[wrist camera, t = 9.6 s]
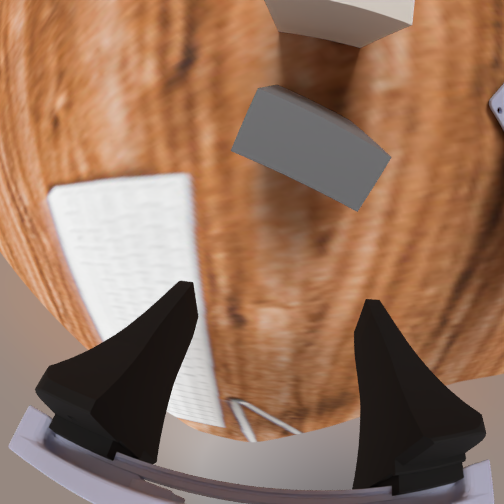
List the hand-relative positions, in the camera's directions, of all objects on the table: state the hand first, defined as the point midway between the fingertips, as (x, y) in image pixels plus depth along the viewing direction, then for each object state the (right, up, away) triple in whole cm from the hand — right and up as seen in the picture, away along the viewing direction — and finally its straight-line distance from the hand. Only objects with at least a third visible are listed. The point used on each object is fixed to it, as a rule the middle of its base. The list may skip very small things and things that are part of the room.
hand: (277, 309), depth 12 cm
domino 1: (+3, +16, +1) cm, 16 cm away
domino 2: (+2, +11, +5) cm, 12 cm away
